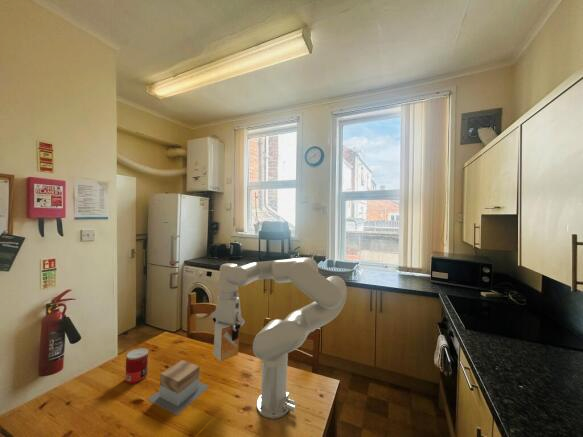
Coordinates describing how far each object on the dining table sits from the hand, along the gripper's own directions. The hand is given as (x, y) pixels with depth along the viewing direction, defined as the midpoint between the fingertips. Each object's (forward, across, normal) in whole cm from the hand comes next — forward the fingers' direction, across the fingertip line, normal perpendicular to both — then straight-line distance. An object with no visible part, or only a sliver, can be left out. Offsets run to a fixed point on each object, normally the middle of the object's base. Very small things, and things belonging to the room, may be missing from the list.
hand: (226, 336), depth 96 cm
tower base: (+21, +14, +10) cm, 28 cm away
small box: (+8, 0, 0) cm, 8 cm away
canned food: (+22, +38, +12) cm, 46 cm away
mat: (+22, +14, +10) cm, 28 cm away
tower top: (+17, +14, +10) cm, 24 cm away
